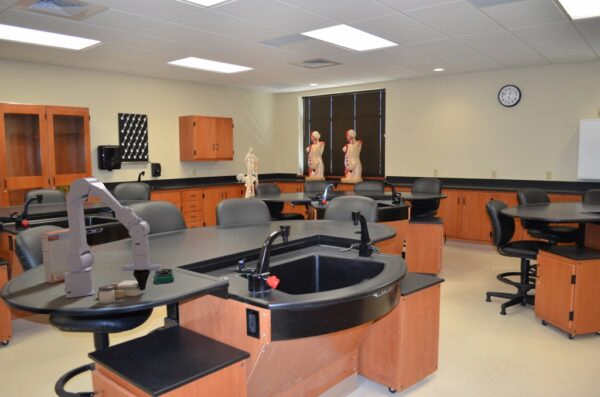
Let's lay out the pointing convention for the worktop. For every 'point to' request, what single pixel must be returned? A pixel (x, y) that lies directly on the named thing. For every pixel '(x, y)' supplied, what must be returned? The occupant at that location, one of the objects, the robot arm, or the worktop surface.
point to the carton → (130, 287)
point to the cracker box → (55, 254)
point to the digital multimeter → (164, 276)
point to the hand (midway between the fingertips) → (142, 289)
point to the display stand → (117, 291)
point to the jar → (106, 294)
